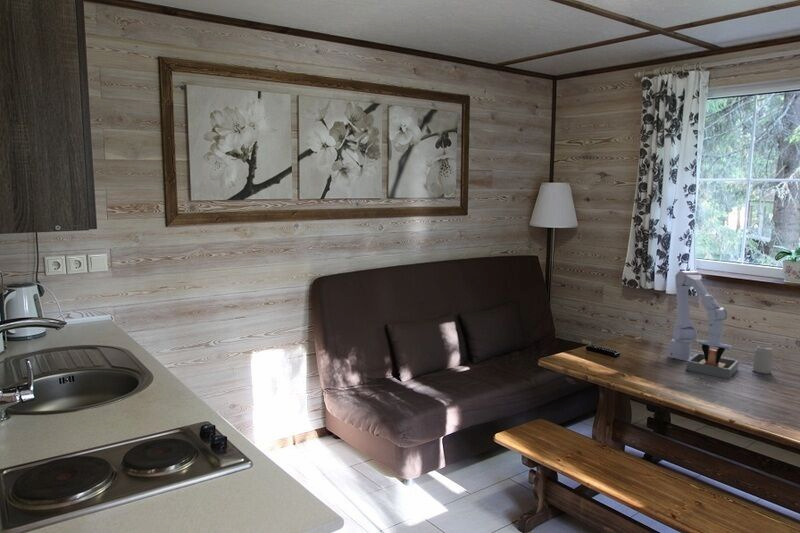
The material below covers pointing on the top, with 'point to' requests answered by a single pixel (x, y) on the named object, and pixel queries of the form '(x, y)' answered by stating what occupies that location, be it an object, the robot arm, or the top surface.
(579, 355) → the top surface
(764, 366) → the can
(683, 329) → the robot arm
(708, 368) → the box
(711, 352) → the peg
